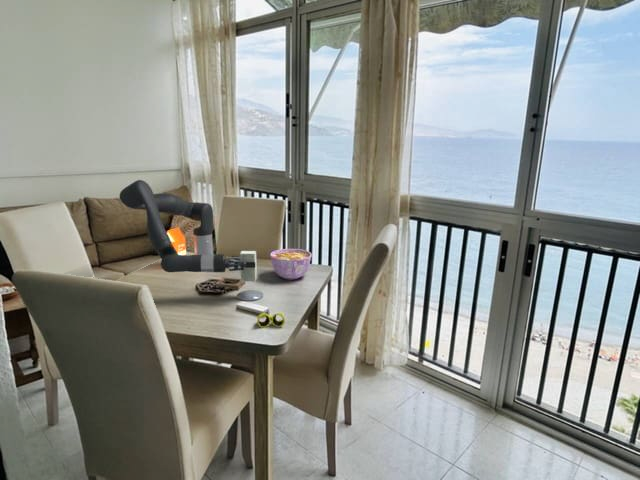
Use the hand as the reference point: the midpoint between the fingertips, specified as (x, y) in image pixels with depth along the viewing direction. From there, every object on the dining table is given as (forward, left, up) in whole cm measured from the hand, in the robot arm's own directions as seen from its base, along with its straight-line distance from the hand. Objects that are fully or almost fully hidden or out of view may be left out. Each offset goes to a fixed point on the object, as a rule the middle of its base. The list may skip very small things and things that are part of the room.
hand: (255, 262), depth 164 cm
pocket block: (-9, -15, -15) cm, 23 cm away
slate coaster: (+1, -2, -15) cm, 15 cm away
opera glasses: (+24, +14, -15) cm, 32 cm away
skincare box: (+1, -3, -8) cm, 8 cm away
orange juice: (-29, -53, -15) cm, 63 cm away
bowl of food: (-27, +9, -15) cm, 32 cm away
